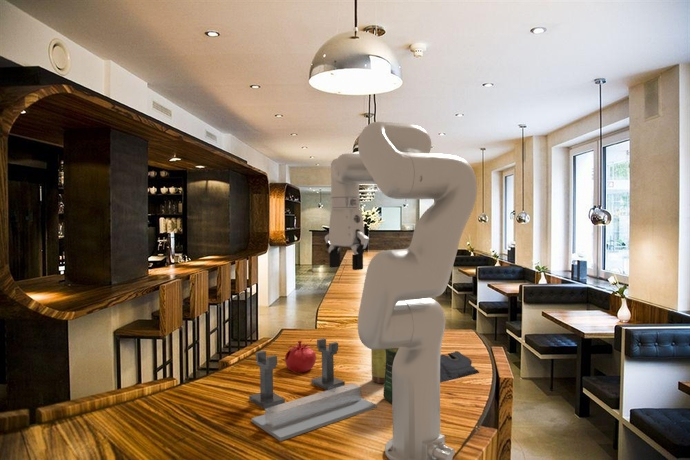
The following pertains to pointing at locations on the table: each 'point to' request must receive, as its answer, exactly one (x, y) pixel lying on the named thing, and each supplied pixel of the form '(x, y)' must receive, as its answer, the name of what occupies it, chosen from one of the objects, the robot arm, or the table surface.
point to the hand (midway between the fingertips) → (345, 268)
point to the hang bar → (311, 405)
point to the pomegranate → (300, 358)
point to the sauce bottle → (378, 365)
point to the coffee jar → (389, 373)
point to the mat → (314, 420)
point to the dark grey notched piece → (455, 366)
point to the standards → (325, 381)
